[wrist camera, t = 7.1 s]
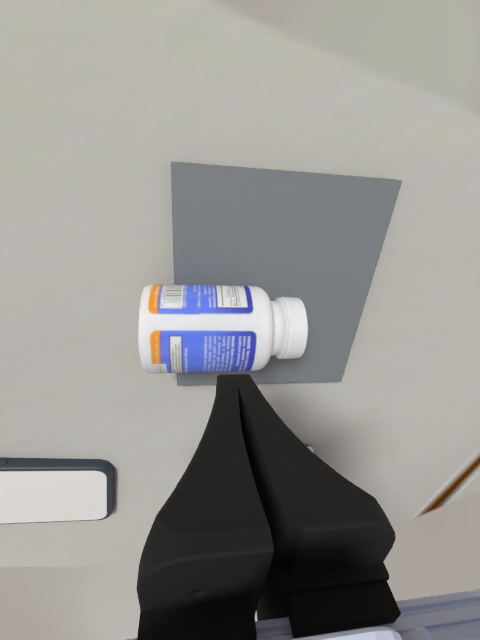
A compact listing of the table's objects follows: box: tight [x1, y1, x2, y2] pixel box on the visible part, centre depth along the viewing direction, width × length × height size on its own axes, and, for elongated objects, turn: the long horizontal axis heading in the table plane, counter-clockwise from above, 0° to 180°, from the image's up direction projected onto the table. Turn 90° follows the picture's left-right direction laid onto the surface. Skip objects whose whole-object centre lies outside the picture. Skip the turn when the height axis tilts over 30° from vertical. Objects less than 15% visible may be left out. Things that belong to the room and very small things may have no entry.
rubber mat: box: [171, 162, 402, 386], centre depth 22 cm, size 14×16×1 cm
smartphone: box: [0, 458, 114, 524], centre depth 29 cm, size 9×2×16 cm
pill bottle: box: [138, 285, 308, 373], centre depth 19 cm, size 5×5×10 cm
